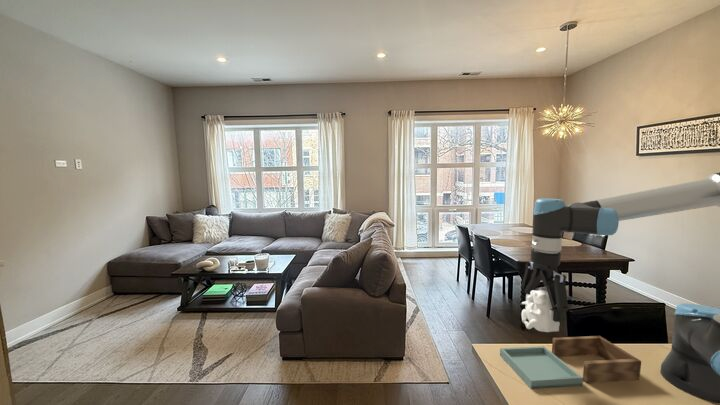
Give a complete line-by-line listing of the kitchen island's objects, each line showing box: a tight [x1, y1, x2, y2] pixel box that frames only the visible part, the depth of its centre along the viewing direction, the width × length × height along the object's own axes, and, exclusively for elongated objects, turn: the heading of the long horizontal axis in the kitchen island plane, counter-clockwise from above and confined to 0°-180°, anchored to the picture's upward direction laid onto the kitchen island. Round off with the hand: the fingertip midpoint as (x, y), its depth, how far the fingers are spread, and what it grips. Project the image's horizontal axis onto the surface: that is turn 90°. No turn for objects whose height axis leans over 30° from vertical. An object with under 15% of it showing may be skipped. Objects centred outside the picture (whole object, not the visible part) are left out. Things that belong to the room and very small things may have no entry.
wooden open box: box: [551, 335, 642, 384], centre depth 92 cm, size 17×14×6 cm
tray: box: [499, 345, 584, 390], centre depth 91 cm, size 16×16×2 cm
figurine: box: [521, 287, 561, 333], centre depth 89 cm, size 10×10×12 cm
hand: (540, 321), depth 89 cm, fingers closed on figurine, 10 cm apart
